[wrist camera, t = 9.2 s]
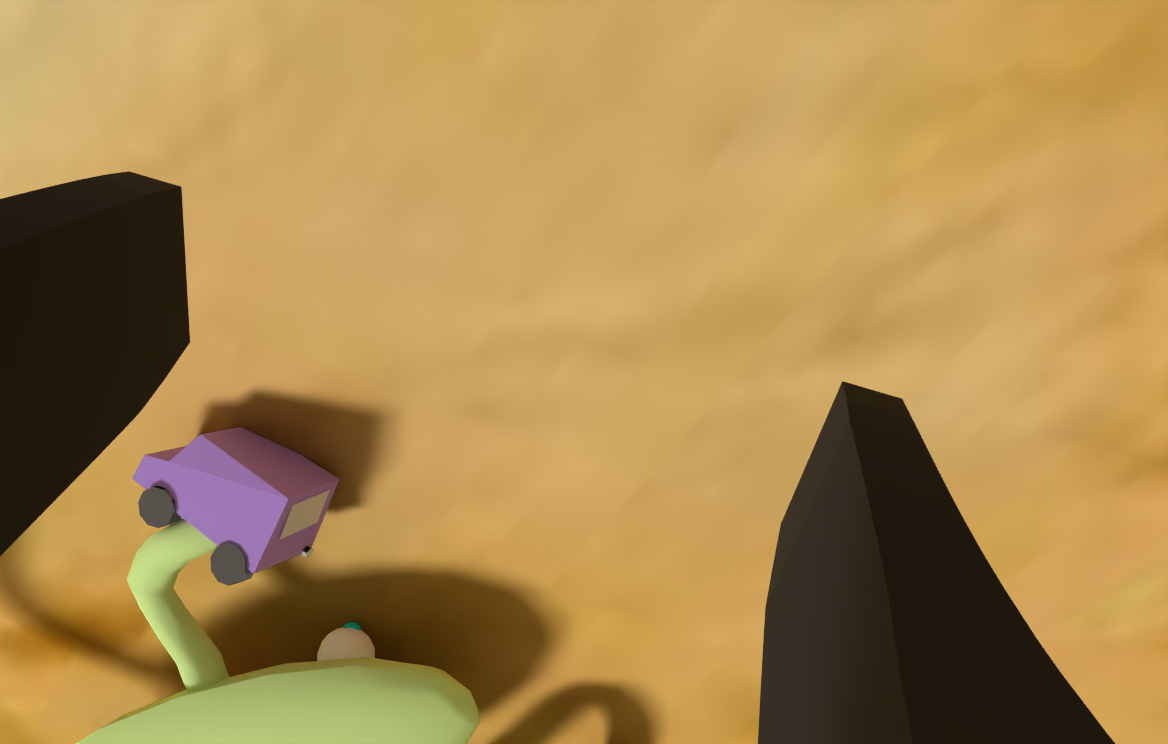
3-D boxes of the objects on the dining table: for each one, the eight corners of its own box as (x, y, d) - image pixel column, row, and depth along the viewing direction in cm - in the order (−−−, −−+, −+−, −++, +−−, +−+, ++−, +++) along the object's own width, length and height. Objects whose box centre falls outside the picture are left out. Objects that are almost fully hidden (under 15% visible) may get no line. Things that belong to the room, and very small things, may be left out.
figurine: (-262, 479, 34) (-439, 603, 29) (431, 337, 23) (324, 495, 19) (61, 823, 42) (-37, 960, 38) (671, 828, 32) (636, 1017, 27)
